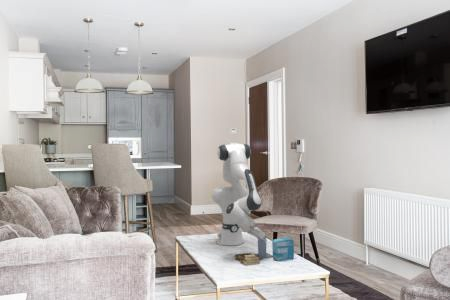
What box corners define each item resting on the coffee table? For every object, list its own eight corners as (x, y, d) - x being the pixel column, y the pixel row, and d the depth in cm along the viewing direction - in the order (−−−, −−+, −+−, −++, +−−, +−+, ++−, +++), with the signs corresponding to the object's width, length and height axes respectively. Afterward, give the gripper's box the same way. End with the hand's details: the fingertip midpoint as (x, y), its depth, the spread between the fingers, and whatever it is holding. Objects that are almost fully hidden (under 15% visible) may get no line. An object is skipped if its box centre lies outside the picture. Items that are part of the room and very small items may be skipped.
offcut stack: (242, 263, 260) (242, 255, 260) (256, 261, 263) (256, 254, 263) (245, 265, 256) (245, 257, 255) (260, 263, 259) (259, 255, 259)
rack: (234, 259, 269) (234, 254, 269) (250, 257, 273) (250, 252, 273) (241, 263, 260) (240, 258, 260) (257, 261, 264) (256, 256, 264)
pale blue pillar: (258, 254, 278) (257, 233, 278) (262, 254, 279) (262, 232, 279) (261, 256, 273) (261, 234, 273) (266, 256, 274) (266, 234, 274)
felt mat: (250, 255, 278) (250, 254, 278) (266, 253, 282) (266, 252, 282) (257, 259, 269) (257, 258, 269) (274, 257, 273) (274, 256, 273)
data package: (276, 261, 263) (275, 240, 263) (272, 259, 267) (272, 239, 267) (294, 259, 268) (293, 238, 267) (290, 257, 272) (289, 237, 272)
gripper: (257, 223, 263) (273, 238, 267) (244, 218, 282) (258, 232, 286) (251, 232, 262) (266, 247, 265) (237, 226, 281) (252, 240, 284)
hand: (262, 239), depth 276 cm, fingers open, 8 cm apart
